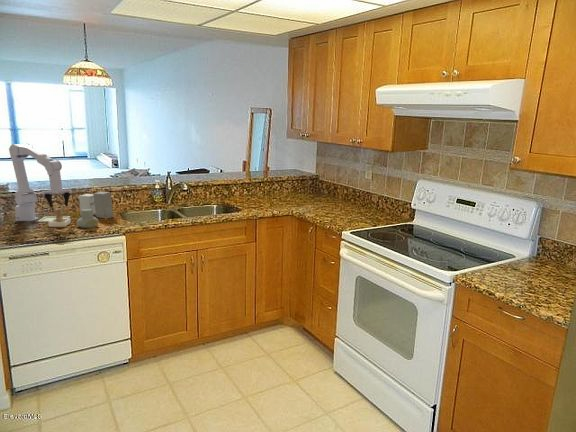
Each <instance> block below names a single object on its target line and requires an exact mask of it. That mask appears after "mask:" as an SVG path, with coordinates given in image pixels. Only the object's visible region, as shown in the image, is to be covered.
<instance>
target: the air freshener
mask: <svg viewBox="0 0 576 432" xmlns="http://www.w3.org/2000/svg"><path fill="white" fill-rule="evenodd" d="M80 216H81V217H79V218H78V219H77V220H76V225H77V226H78V227H80V228H82V229H90V228H91V229H92V228H94V227H96V226H98V225H99V219H98V217H96V216H94V215H93V210H92V209H82V210H81V215H80Z"/></svg>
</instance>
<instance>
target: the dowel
mask: <svg viewBox="0 0 576 432" xmlns="http://www.w3.org/2000/svg"><path fill="white" fill-rule="evenodd" d="M55 216H56V222H63V217H62V216H63V209H62V208H61V207H60V208H55Z"/></svg>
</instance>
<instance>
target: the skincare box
mask: <svg viewBox="0 0 576 432" xmlns="http://www.w3.org/2000/svg"><path fill="white" fill-rule="evenodd" d="M93 196H94V203H95V210H96V214H95V215H96V216H95V217H96V218H101V219H104V220H107V219H111V218H114V209H113V201H112V194H111V192H109V191H102V190H101V191H97V192H93Z"/></svg>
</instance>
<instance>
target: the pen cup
mask: <svg viewBox="0 0 576 432" xmlns="http://www.w3.org/2000/svg"><path fill="white" fill-rule="evenodd" d="M71 221H72V220H71V218H69V219H63V222H56V219H53V220H51V221H50V222H47V224H48V227H51V228H53V227H55V228H57V227H58V228H59V227H60V228H62V227H65V228H66V227H67V226H68V225H70V224H71V223H72V222H71Z"/></svg>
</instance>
